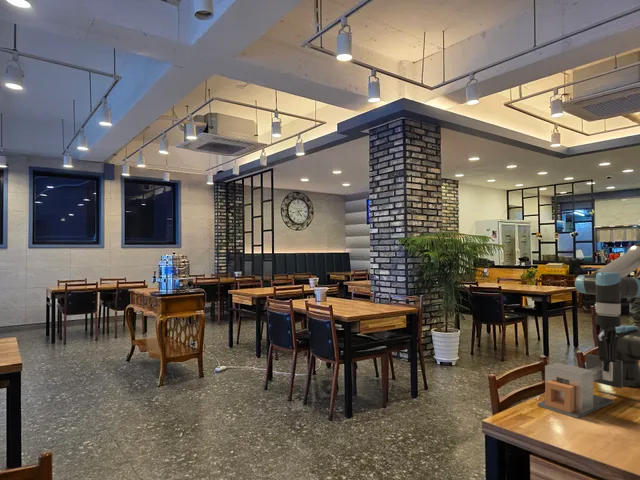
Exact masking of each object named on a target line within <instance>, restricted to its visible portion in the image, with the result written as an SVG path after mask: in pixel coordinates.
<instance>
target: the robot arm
mask: <svg viewBox="0 0 640 480" xmlns="http://www.w3.org/2000/svg"><path fill="white" fill-rule="evenodd" d="M639 268H640V242H638V243H636V244H635V245H632V246H630V247H629V248H628V249H627V250H626V252H625V253H624V254H622V255H621V256H618V258H616V259H614V260H612V261H611V262H609V263H606V265H604V266H602V267H601V268H599V269H597V270H595V271H594V272H592V273H590V274H579V275H578V276H576V278H575V280H574V286H575V289H576V291H577V292H579V293H580V294H585V295H595V303H594V307H595V313H596V314H595V324H596V325H598V326H599V327H600V328H599V334H596V335H595V338H596V341H597V348H598V351H597V352H598V356H599V360H600V361H603V380H608V381H613V362H616V360H621V361H623V387H630V386H632V387H633V388H638V387H637V386H640V329H639V326H637V325H628V324H627V325H621V320H622V319H621V316H620V315H621V314H622V313H621V312H622V309H621V308H622V304H621V300H622V299H623V298H624V299H627V298H629V299H632V298H638V297H640V279H638V278H636V277H629V275H630V274H631V273H633V272H635V271H636V270H638V269H639ZM615 359H616V360H615Z"/></svg>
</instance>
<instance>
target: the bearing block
mask: <svg viewBox="0 0 640 480" xmlns="http://www.w3.org/2000/svg"><path fill="white" fill-rule="evenodd" d="M544 373H545V374H544V383H545V382H546V381H549V380H551V381H555V382H559V383H563V384H564V379H567V380H569V385H571V386H574V411H573V412H570V413H569V412H566V411H563V410H560V409H556V408H553V407H550V406H546V405H545V400H542V401H540V402H537V407H540V408H543V409H546V410H549V411H552V412H555V413H559V414H561V415H565V416H568V417H571V418H575V419H580V418H583V417H584V416H587V415H588V414H589V415H590V414H591V413H593V412H595V411H598V410H600V409H603V408H604V407H607V406H609V405H612V404H614V399H611V398H607V397H604V396H599V395H595V394H594V382H593V370H588V369H586V368H583V367H579V366H574V365H569V364H564V363H560V362H555V363H551V364H547V365H544ZM555 400H558V401H561V402H564V392H562V391H558V390H555Z"/></svg>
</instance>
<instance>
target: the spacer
mask: <svg viewBox="0 0 640 480" xmlns="http://www.w3.org/2000/svg"><path fill="white" fill-rule="evenodd" d="M544 384H545V385H544V387H545V389H544V390H545V391H544V392H545V393H544V397H545V398H544V401H545V405H546V406H550V407H553V408H556V409H560V410H563V411H566V412H569V413H570V412H573V411H574V386H571V385H567V384H563V383H559V382H555V381H551V380H549V381H546V382H545V381H544ZM555 390H558V391H562V392H564V402H561V401H558V400H555Z"/></svg>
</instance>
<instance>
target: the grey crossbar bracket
mask: <svg viewBox="0 0 640 480" xmlns="http://www.w3.org/2000/svg"><path fill="white" fill-rule="evenodd" d="M615 360H616V359H615ZM585 369H588V370H593V383H596V384H601V385H606V386H610V387H614V388H618V389H623V388H624V386H623V361H621V360H616V362H613V381H608V380H603V361H600V360H599V355H595V354H590V353H586V354H585ZM564 384H567V385H569V380H567V379H564Z"/></svg>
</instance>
